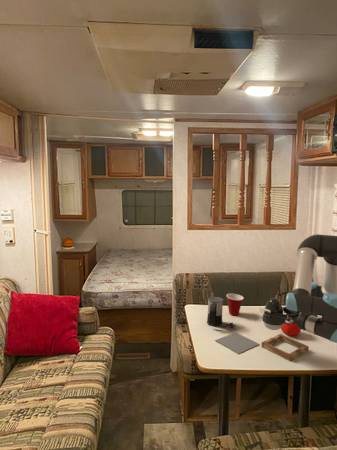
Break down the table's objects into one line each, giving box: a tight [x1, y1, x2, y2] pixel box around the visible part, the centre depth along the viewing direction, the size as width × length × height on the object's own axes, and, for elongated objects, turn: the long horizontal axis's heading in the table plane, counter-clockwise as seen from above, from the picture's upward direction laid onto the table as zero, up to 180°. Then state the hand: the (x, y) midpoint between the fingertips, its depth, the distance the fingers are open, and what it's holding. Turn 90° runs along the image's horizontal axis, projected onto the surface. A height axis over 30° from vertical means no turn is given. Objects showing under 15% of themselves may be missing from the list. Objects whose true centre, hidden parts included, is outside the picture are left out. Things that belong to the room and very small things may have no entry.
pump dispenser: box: [262, 297, 284, 331], centre depth 156 cm, size 10×10×15 cm
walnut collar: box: [261, 333, 310, 362], centre depth 158 cm, size 16×16×2 cm
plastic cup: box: [226, 293, 244, 317], centre depth 199 cm, size 11×11×12 cm
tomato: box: [280, 316, 302, 337], centre depth 174 cm, size 11×11×9 cm
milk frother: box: [206, 296, 236, 328], centre depth 183 cm, size 14×16×15 cm
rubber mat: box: [214, 331, 260, 355], centre depth 163 cm, size 16×16×1 cm
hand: (266, 307), depth 159 cm, fingers closed on pump dispenser, 9 cm apart
